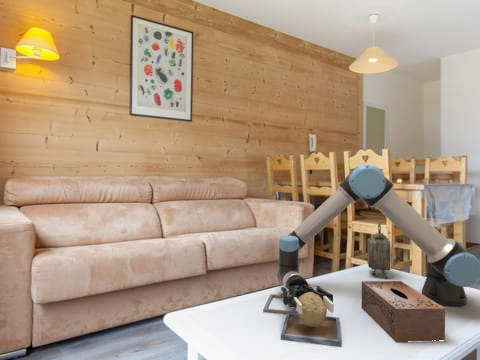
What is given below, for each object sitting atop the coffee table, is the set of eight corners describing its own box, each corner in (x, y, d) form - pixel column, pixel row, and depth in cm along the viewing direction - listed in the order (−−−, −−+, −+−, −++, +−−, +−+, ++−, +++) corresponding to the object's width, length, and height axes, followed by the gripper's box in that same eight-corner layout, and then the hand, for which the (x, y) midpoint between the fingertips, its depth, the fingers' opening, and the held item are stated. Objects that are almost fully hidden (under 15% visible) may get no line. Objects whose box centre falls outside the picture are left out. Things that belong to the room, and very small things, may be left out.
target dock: (339, 321, 114) (339, 317, 114) (341, 346, 97) (341, 341, 97) (287, 316, 118) (287, 312, 118) (280, 339, 102) (280, 334, 101)
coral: (327, 295, 113) (328, 293, 104) (324, 329, 109) (325, 329, 100) (298, 291, 115) (296, 287, 106) (294, 323, 112) (292, 323, 103)
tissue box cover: (361, 308, 126) (361, 281, 126) (400, 308, 126) (401, 280, 126) (395, 343, 100) (396, 308, 100) (444, 342, 101) (445, 308, 100)
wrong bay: (309, 300, 133) (309, 297, 133) (306, 316, 118) (306, 313, 118) (270, 296, 137) (270, 294, 137) (263, 312, 122) (263, 309, 122)
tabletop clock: (390, 280, 159) (391, 225, 158) (369, 278, 161) (369, 225, 161) (386, 272, 172) (387, 221, 172) (367, 270, 175) (367, 221, 175)
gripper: (324, 294, 127) (351, 319, 104) (266, 296, 124) (281, 323, 102) (324, 273, 127) (351, 294, 104) (266, 275, 124) (281, 297, 102)
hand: (316, 308), depth 103 cm, fingers closed on coral, 9 cm apart
